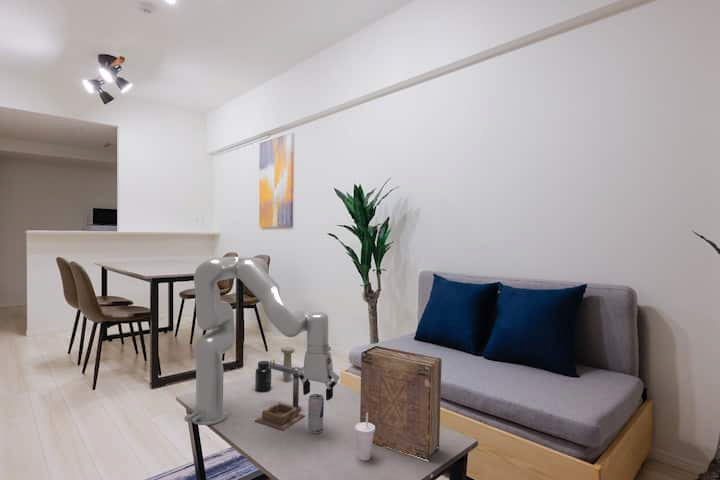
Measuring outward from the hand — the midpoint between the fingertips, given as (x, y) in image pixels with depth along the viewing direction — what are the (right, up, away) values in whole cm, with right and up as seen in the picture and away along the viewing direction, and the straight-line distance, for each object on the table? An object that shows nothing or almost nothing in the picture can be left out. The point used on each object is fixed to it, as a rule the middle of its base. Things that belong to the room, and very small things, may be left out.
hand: (317, 396), depth 144 cm
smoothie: (+16, -13, -16) cm, 26 cm away
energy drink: (-1, -12, 0) cm, 12 cm away
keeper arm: (-15, +3, +19) cm, 24 cm away
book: (+28, -13, -8) cm, 32 cm away
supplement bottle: (-28, -11, +36) cm, 47 cm away
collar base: (-14, -12, +10) cm, 21 cm away
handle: (-19, -11, +47) cm, 52 cm away
